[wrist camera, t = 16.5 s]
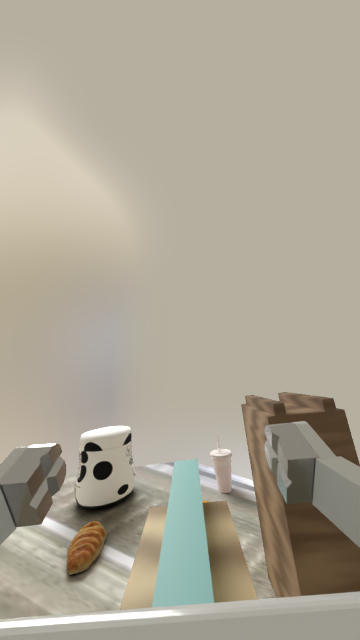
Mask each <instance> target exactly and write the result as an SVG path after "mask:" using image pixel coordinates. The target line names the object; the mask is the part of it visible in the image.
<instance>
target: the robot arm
mask: <svg viewBox="0 0 360 640" xmlns="http://www.w3.org/2000/svg"><path fill="white" fill-rule="evenodd" d="M265 435H266V437H267V439H268V440H267V441H266V442H265V454H266V459H267V462H268V465H269V467H270V469H271V472H272V473H274V474H275V475H276V476H277V485H278V487H279V489H280V491H281V493H282V495H283V498H284V500H285V502H286V504H293V503H312V504H313V505H314V506H315V507H316V508H317V509H318V510H319V511H320V512H321V513H323V514H324V515H325V516H326V517H327V518H328V519H329V520H330V521H331V522H332V523H333V524H334V525H336V526H337V527H338V528H339V529H340V530H341V531H342V532H343V533H344V534H345V535H346V536H347V537H349V538H350V539H351V540H352V541H353V542H354V543H355V544H356V545H357V546H358V547H359V548H360V467H359V466H357V465H355V464H354V463H352V462H350V461H348V460H346V459H345V458H343V457H341V456H339V457H336V455H335V454H334V453H333V452H332V451H331V450H330V448H329V447H328V446H327V445H326V444H325V443H324V441H323V440H322V439H321V438H320V437H319V436H318V434H317V433H316V432H315V431H314V430H313V429H312V427H311V426H310V425H309V424H308V423H307V422H305V421H300V422H292V423H282V424H272V425H266V426H265ZM61 453H62V450H61V447H60V445H59V444H43V445H31V446H19V447H17V448H15V449H14V450H13V451H12V452H11V453H10V455H9V456H8V457H7V458H6V459H5V460H4V461H3V462H2V463H1V464H0V545H1V544H2V542H3V541H4V540H5V539H6V538H7V537H8V536H9V535H10V534H11V533H12V532H13V531H14V530H15V529H16V527H22V526H30V525H39V524H42V522H43V520H44V518H45V516H46V514H47V512H48V511H49V509H50V507H51V505H52V503H53V501H52V496H53V495H54V494H55V493H57V492H58V491H59V490H60V488H61V486H62V484H63V482H64V479H65V475H66V464H65V461H64V460H63V459H62V458H61V457H60V454H61ZM0 640H360V591H359V592H346V593H333V594H320V595H307V596H294V597H282V598H269V599H256V600H243V601H230V602H217V603H204V604H191V605H178V606H165V607H152V608H139V609H126V610H113V611H101V612H88V613H75V614H63V615H50V616H37V617H25V618H12V619H0Z"/></svg>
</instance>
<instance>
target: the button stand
mask: <svg viewBox="0 0 360 640" xmlns="http://www.w3.org/2000/svg"><path fill="white" fill-rule="evenodd" d="M278 395H279V399H280V401H275V400H270V399H266V398H262V397H258V396H254V395H250V396H245V398H246V404H242V405H241V406H242V412H243V419H244V425H245V431H246V437H247V444H248V450H249V456H250V463H251V470H252V476H253V482H254V489H255V495H256V501H257V508H258V514H259V520H260V527H261V533H262V540H263V546H264V552H265V559H266V565H267V571H268V577H269V580H270V582H271V585H272V587H273V590H274V592H275V595H276V597H277V598H282V597H294V596H307V595H320V594H333V593H346V592H359V591H360V548H359V547H358V546H357V545H356V544H355V543H354V542H353V541H352V540H351V539H350V538H349V537H347V536H346V535H345V534H344V533H343V532H342V531H341V530H340V529H339V528H338V527H337V526H336V525H334V524H333V523H332V522H331V521H330V520H329V519H328V518H327V517H326V516H325V515H324V514H323V513H321V512H320V511H319V510H318V509H317V508H316V507H315V506H314V505H313V504H312V503H293V504H286V502H285V500H284V498H283V495H282V493H281V491H280V489H279V487H278V485H277V476H276V475H275V474H274V473H272V472H271V469H270V467H269V465H268V462H267V459H266V454H265V442H266V441H267V440H268V439H267V437H266V435H265V426H266V425H272V424H282V423H292V422H300V421H305V422H307V423H308V424H309V425H310V426H311V427H312V429H313V430H314V431H315V432H316V433H317V434H318V436H319V437H320V438H321V439H322V440H323V441H324V443H325V444H326V445H327V446H328V447H329V448H330V450H331V451H332V452H333V453H334V454H335V455H336V457H339V456H341V457H343V458H345V459H346V460H348V461H350V462H352V463H354V464H355V465H357V466H359V467H360V464H359V461H358V457H357V454H356V450H355V446H354V443H353V439H352V436H351V432H350V429H349V425H348V421H347V418H346V414H345V411H344V410H342V409H337V408H336V407H335V403H334V400H333V398H327V397H319V396H310V395H303V394H295V393H287V392H284V393H278Z"/></svg>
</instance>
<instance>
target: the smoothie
mask: <svg viewBox="0 0 360 640" xmlns="http://www.w3.org/2000/svg"><path fill="white" fill-rule="evenodd" d="M216 437H217V446H218V449H216V450H213V451H211V452H210V455H211V456H210V457H211V458H212V461H213V466H214V470H215V475H216V479H217V484H218V488H219V491H220V492H221V493H229V492H231V491H232V482H231V456H232V454H231V451H230V450H227V449H220V447H219V440H218V436H216Z"/></svg>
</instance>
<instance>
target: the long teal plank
mask: <svg viewBox="0 0 360 640" xmlns="http://www.w3.org/2000/svg"><path fill="white" fill-rule="evenodd" d="M204 603H214V597H213V588H212V580H211V571H210V563H209V555H208V546H207V538H206V529H205V521H204V512H203V504H202V495H201V487H200V478H199V470H198V463H197V459H195V460H184V461H175V464H174V470H173V477H172V483H171V490H170V496H169V502H168V509H167V515H166V521H165V528H164V534H163V540H162V547H161V553H160V559H159V566H158V572H157V578H156V585H155V591H154V597H153V604H152V607H165V606H178V605H191V604H204Z"/></svg>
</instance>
